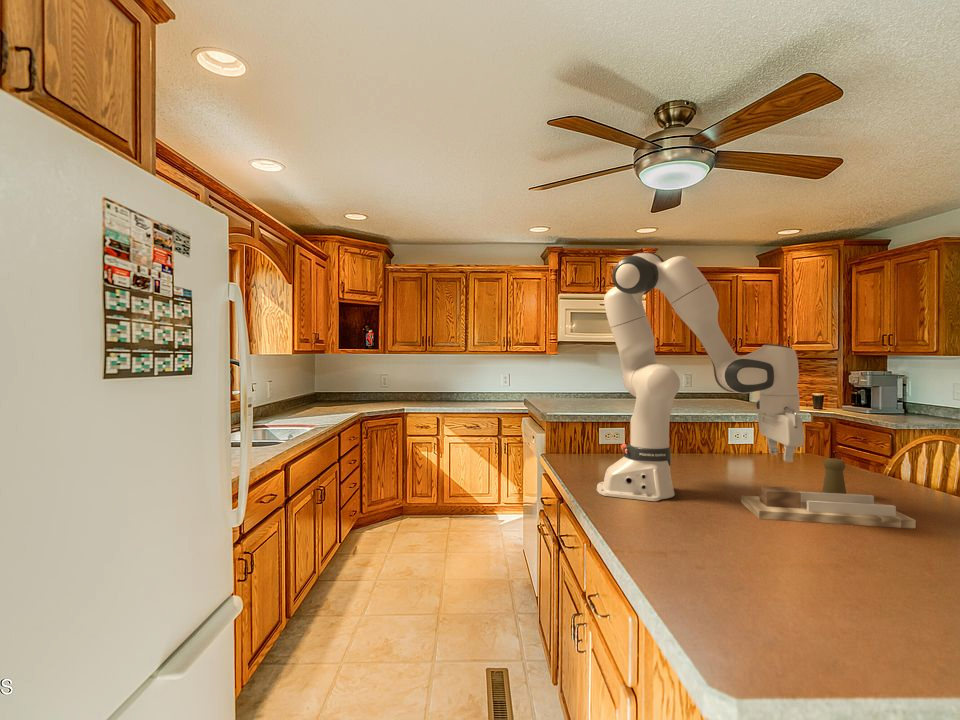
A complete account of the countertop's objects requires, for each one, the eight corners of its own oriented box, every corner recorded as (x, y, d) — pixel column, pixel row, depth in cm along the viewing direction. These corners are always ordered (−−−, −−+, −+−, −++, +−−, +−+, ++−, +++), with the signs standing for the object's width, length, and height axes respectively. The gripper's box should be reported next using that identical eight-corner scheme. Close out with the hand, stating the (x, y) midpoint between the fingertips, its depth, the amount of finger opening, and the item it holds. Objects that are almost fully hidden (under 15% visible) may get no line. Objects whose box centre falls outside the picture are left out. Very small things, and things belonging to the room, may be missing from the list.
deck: (759, 518, 122) (759, 510, 122) (741, 502, 136) (741, 495, 136) (915, 528, 115) (915, 520, 115) (880, 510, 129) (880, 503, 129)
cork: (838, 493, 146) (838, 457, 146) (852, 499, 140) (852, 461, 140) (817, 493, 146) (817, 456, 146) (829, 498, 140) (829, 460, 140)
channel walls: (808, 511, 122) (808, 501, 122) (791, 500, 132) (791, 491, 132) (895, 516, 118) (895, 506, 118) (871, 504, 128) (871, 495, 128)
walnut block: (766, 506, 126) (766, 491, 126) (759, 500, 131) (759, 486, 131) (800, 508, 124) (800, 492, 124) (792, 502, 129) (792, 487, 129)
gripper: (811, 409, 117) (812, 467, 117) (777, 402, 137) (778, 451, 137) (782, 409, 118) (783, 466, 118) (753, 402, 138) (754, 450, 138)
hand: (780, 458), depth 128 cm, fingers open, 8 cm apart
